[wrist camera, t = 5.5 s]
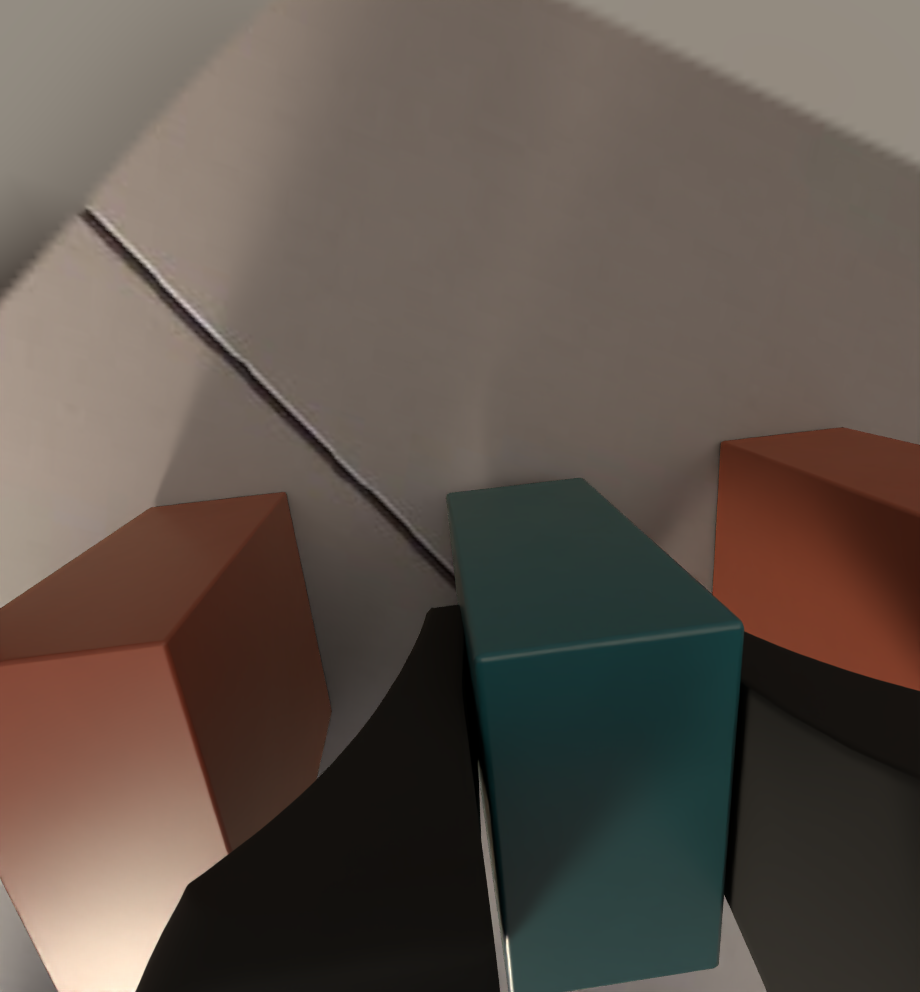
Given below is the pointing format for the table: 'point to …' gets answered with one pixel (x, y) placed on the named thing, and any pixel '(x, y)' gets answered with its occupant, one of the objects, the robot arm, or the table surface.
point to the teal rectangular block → (595, 736)
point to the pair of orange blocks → (301, 683)
